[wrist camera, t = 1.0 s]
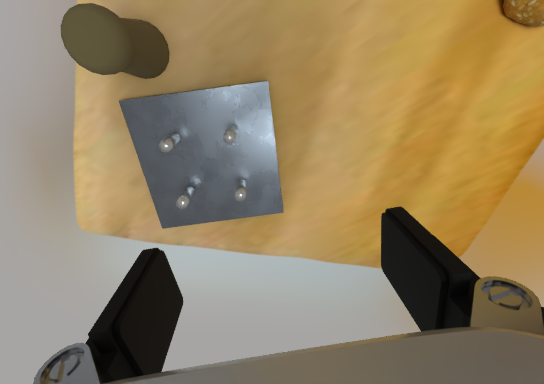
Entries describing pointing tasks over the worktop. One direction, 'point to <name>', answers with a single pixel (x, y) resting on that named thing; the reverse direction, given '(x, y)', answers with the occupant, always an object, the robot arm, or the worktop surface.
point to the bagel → (525, 11)
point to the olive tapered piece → (113, 42)
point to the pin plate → (207, 153)
